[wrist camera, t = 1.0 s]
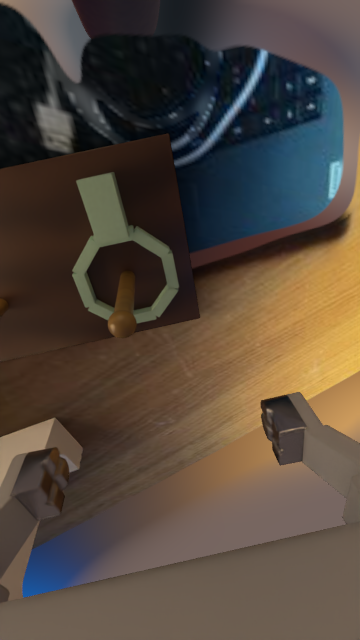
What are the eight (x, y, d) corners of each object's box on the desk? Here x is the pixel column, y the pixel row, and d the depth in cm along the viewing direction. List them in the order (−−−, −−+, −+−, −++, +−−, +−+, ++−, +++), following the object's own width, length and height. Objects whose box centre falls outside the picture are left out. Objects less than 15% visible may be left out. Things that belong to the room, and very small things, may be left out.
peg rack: (-135, 198, 25) (-341, 227, 15) (167, 134, 26) (186, 116, 15) (-22, 360, 35) (-95, 450, 24) (198, 312, 35) (223, 380, 24)
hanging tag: (41, 187, 25) (31, 190, 23) (154, 163, 25) (155, 163, 23) (96, 327, 33) (93, 339, 31) (183, 308, 33) (186, 319, 31)
